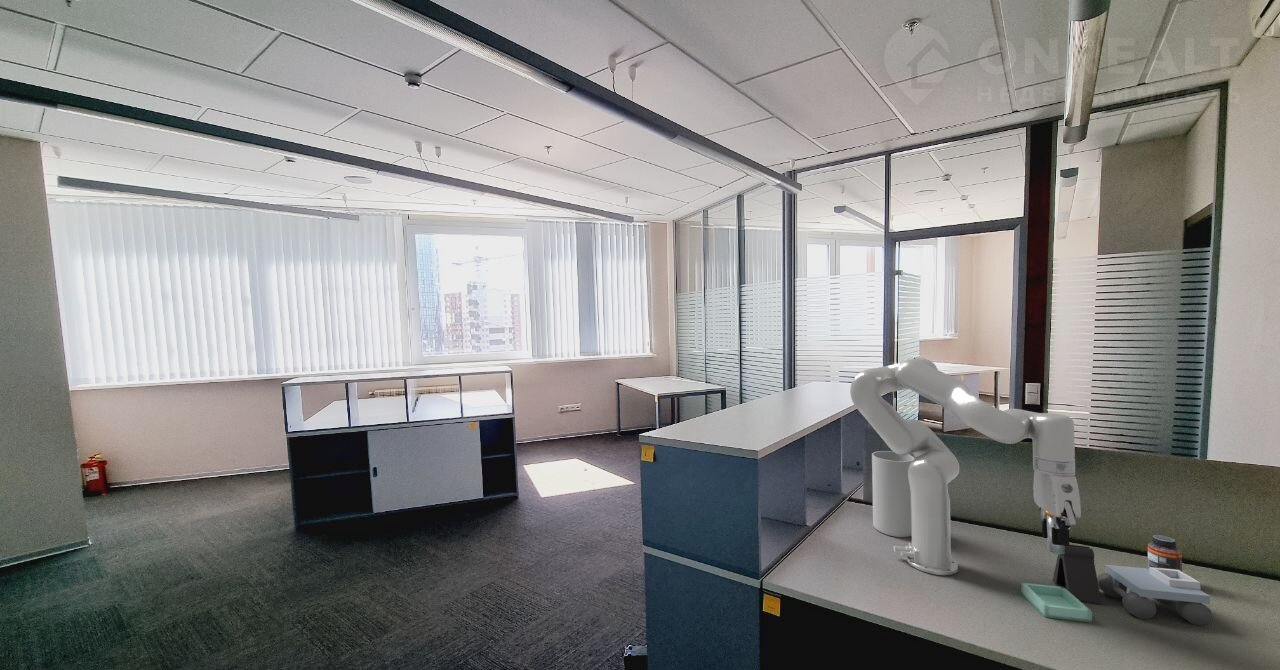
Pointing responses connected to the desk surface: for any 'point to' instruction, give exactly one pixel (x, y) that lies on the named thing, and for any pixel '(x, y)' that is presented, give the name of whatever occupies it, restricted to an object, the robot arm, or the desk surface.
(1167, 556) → the supplement bottle
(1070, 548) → the phone stand
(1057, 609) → the tray
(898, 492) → the cylinder vase
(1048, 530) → the pin
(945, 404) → the robot arm
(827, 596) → the desk surface
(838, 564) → the desk surface
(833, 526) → the desk surface
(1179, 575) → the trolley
